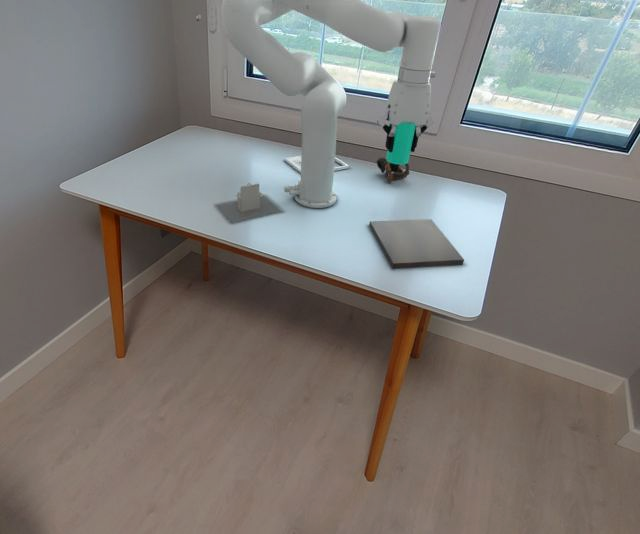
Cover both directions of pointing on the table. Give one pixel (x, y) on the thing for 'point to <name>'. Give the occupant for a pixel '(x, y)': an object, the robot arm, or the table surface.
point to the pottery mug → (392, 170)
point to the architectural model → (248, 205)
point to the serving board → (414, 244)
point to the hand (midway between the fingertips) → (400, 149)
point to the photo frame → (296, 163)
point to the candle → (401, 144)
